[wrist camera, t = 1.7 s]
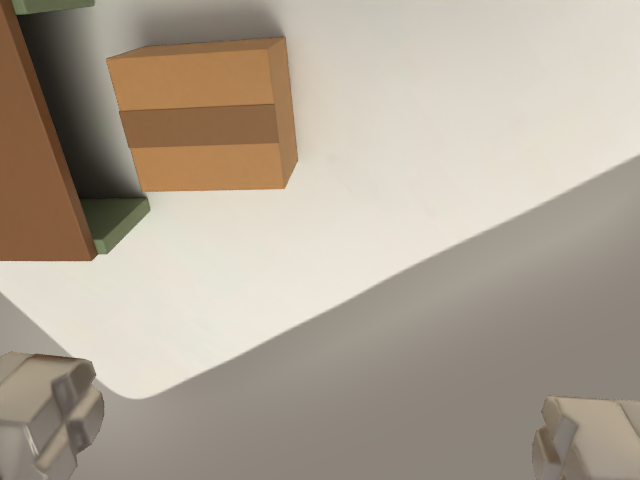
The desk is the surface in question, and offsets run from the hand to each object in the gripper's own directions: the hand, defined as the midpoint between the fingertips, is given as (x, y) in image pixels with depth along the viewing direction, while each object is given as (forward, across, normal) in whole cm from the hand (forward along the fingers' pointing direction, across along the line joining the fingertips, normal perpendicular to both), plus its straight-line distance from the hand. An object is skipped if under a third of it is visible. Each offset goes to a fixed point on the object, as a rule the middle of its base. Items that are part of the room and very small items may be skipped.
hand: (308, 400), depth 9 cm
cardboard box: (+19, +7, -1) cm, 21 cm away
